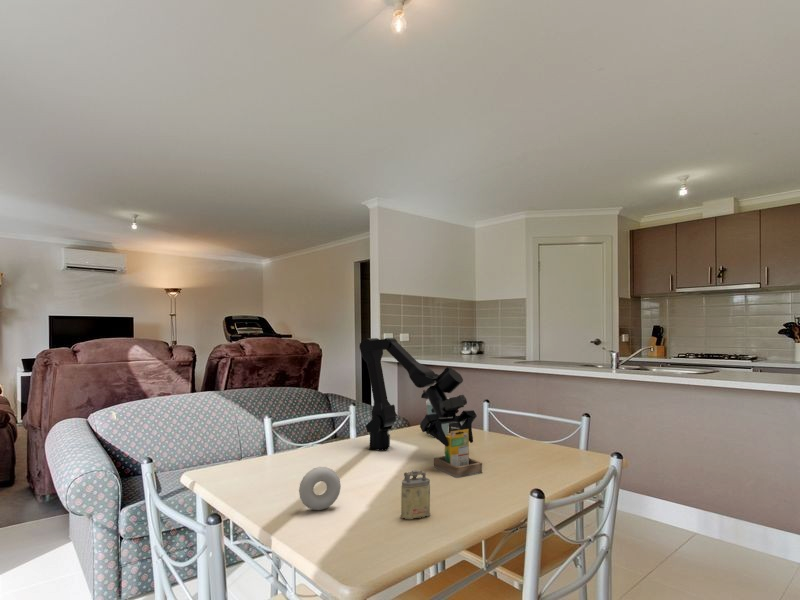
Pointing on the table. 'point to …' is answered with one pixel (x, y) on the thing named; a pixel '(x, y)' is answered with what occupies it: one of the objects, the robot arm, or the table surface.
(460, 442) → the crayon box
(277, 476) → the table surface
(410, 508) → the lighter
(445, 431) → the disposable coffee cup
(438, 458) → the tray
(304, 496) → the donut
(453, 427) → the black upright block
